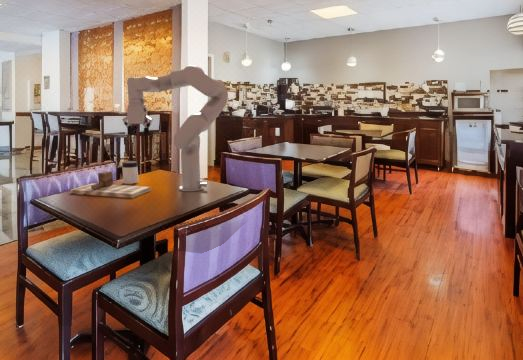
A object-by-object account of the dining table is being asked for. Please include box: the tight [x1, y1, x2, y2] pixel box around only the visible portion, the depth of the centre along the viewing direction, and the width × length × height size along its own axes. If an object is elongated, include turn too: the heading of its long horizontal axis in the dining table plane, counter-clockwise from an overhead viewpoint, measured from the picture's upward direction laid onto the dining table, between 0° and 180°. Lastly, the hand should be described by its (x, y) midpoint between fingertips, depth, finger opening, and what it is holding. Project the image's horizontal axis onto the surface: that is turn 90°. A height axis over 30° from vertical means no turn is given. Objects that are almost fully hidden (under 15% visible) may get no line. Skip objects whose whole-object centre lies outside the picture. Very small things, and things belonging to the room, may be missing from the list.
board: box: [70, 182, 152, 199], centre depth 196 cm, size 36×16×2 cm, turn 74°
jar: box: [121, 160, 139, 185], centre depth 217 cm, size 9×8×12 cm
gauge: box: [91, 170, 114, 189], centre depth 197 cm, size 4×13×7 cm, turn 164°
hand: (138, 135), depth 201 cm, fingers open, 9 cm apart
